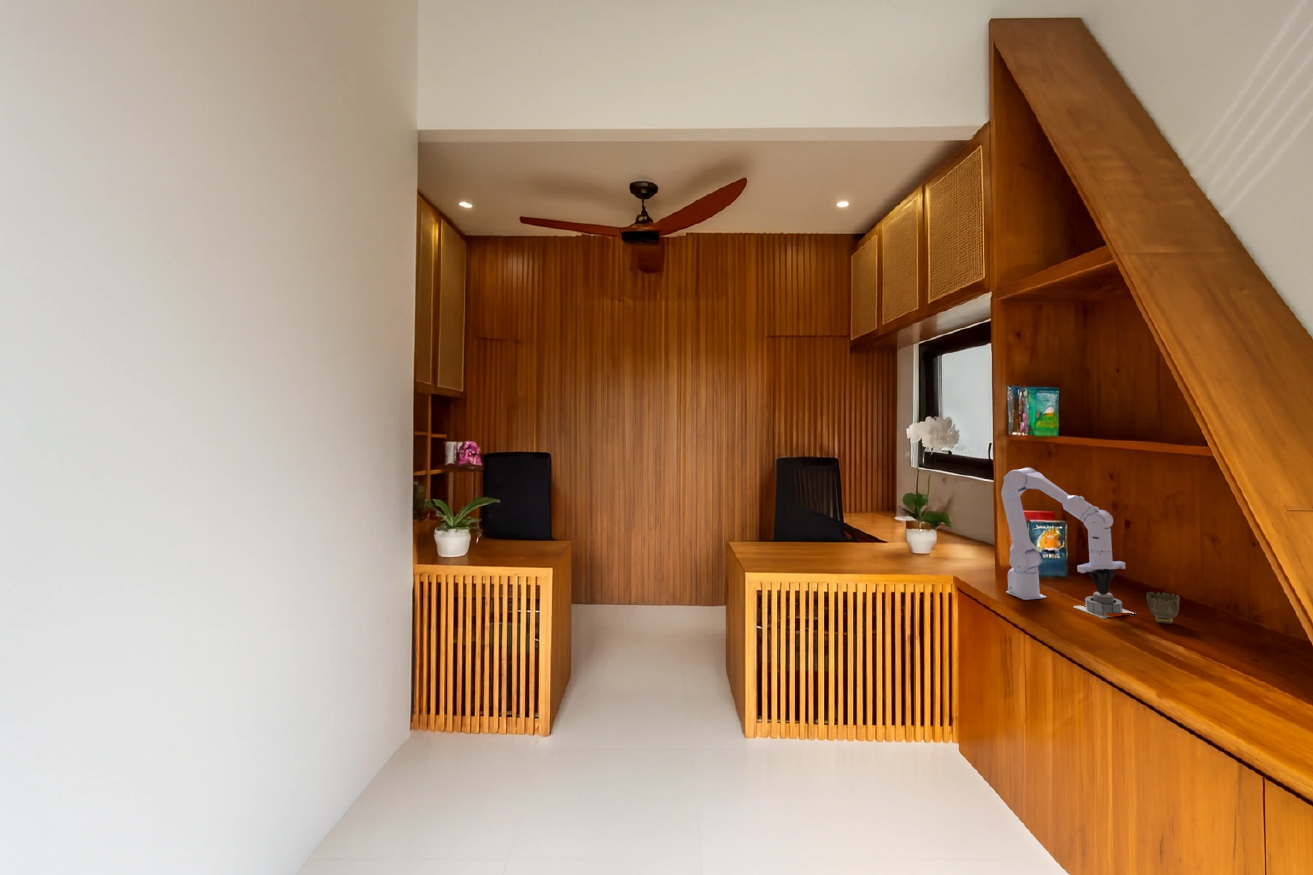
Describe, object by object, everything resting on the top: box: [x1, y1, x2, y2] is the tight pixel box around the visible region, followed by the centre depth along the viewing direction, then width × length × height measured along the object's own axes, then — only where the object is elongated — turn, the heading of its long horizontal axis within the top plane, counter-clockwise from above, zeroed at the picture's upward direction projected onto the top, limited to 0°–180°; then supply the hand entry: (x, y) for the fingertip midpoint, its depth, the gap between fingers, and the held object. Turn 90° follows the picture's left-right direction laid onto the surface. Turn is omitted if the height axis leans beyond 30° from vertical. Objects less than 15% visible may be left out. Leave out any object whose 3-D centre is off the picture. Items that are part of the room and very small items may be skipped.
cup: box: [1145, 591, 1181, 625], centre depth 170 cm, size 8×7×8 cm
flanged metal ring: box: [1073, 595, 1137, 619], centre depth 182 cm, size 11×11×3 cm
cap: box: [1092, 591, 1114, 604], centre depth 182 cm, size 5×5×5 cm
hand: (1102, 593), depth 182 cm, fingers closed
